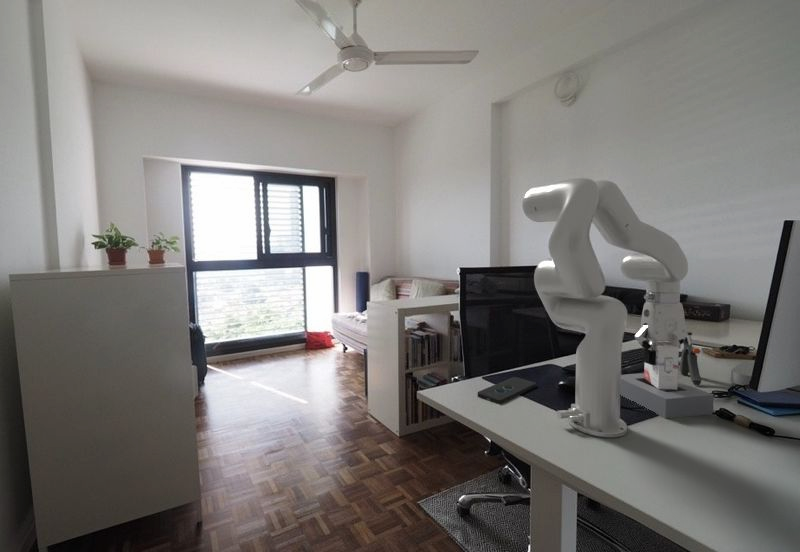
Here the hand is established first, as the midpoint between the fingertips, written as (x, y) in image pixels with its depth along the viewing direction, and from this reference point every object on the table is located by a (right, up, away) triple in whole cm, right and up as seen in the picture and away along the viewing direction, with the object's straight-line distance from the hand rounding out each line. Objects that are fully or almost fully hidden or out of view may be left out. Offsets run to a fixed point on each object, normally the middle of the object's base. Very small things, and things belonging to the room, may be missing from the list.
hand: (660, 362), depth 102 cm
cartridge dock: (0, -11, +1) cm, 11 cm away
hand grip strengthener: (+22, -10, +17) cm, 29 cm away
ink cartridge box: (0, -6, +1) cm, 6 cm away
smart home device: (-39, -12, +10) cm, 42 cm away
